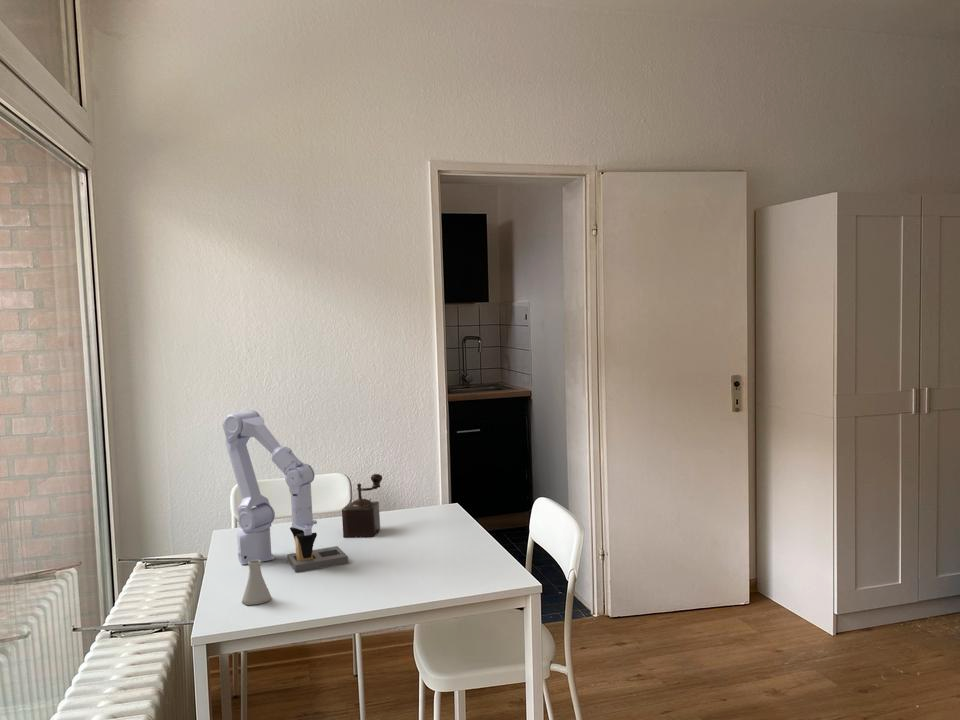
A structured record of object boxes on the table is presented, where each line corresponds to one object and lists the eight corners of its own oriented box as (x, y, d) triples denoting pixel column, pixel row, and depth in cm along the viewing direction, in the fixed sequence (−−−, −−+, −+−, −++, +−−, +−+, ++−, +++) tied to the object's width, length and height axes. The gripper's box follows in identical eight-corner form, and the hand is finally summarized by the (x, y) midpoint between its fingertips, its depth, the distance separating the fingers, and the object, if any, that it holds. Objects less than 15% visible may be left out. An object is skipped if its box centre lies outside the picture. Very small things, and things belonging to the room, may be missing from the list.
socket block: (295, 572, 210) (295, 564, 210) (287, 561, 221) (286, 553, 221) (348, 563, 217) (347, 555, 216) (337, 552, 227) (337, 545, 227)
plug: (299, 567, 215) (297, 536, 214) (296, 563, 218) (294, 533, 218) (313, 565, 216) (311, 534, 216) (310, 561, 220) (308, 531, 220)
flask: (243, 608, 185) (241, 567, 184) (240, 598, 191) (237, 559, 191) (273, 602, 188) (271, 562, 187) (269, 593, 194) (267, 555, 194)
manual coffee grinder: (376, 537, 242) (373, 482, 242) (342, 538, 243) (339, 482, 243) (386, 524, 258) (383, 472, 257) (354, 525, 259) (351, 473, 258)
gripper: (321, 510, 212) (324, 558, 212) (310, 500, 225) (312, 545, 226) (296, 514, 209) (298, 562, 209) (286, 504, 222) (288, 549, 223)
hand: (304, 554), depth 217 cm, fingers open, 7 cm apart
